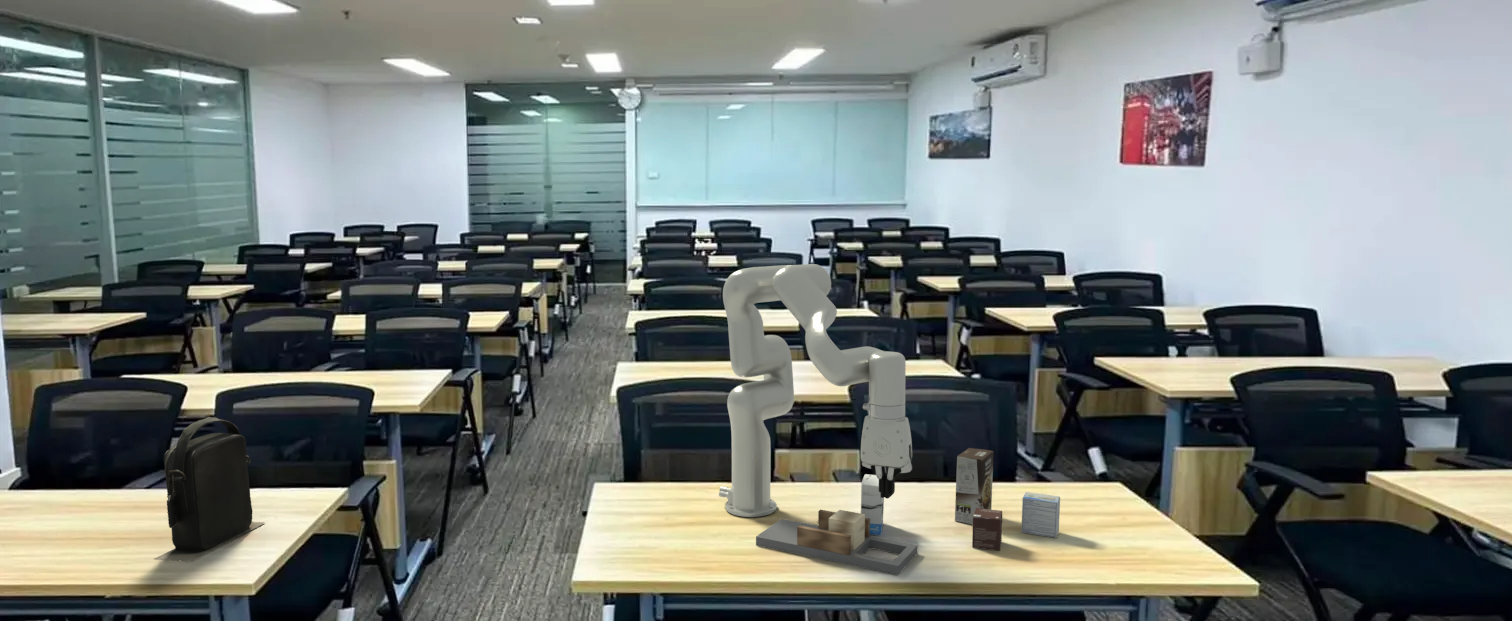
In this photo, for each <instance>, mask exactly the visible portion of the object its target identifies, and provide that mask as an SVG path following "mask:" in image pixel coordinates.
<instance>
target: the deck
mask: <svg viewBox="0 0 1512 621" xmlns="http://www.w3.org/2000/svg"><path fill="white" fill-rule="evenodd" d="M799 525H800V526H805V527H811V528H816V529H821V528H818V524H817V525H816V524H812V523H806V522H801V521H796V520H790V519H787V518H786V519H785V518H780V519H779V520H778V521H776V522H775V523H773V524H772V525H770V526H769V527H768V528H766V529H765V530H763V531H761V533H759V534H758V535H757V536H755V546H758V547H762V548H763V547H764V548H766V549H767V548H768V549H773V550H777V551H781V552H786V553H791V554H796V555H801V556H805V557H810V558H814V559H818V560H824V561H829V562H833V563H837V564H843V565H847V566H853V567H858V568H862V569H865V570H866V569H867V570H871V571H876V572H882V573H886V574H891V575H896V576H899V575H900V574H901V573H902V571H903V570H904V569H905V568H906V567H907V566H908V565H909V564H910V563H911V561H913V559H914V558H915V557H916V556H917V554H918V547H919V545H918V544H916V543H910V542H904V541H899V540H894V539H890V538H889V539H888V538H885V537H878V536H875V535H870V536H869V537H868V538H867V537H865V541H864V542H863V543H861V544H860V545H859V546H858V547H857V548H856V549H855V550H851V554H849V555H845V554H840V553H835V552H830V551H825V550H820V549H816V548H811V547H806V546H801V545H797V527H798V526H799ZM821 530H826V529H821ZM826 531H829V530H826ZM870 549H872V550H878V551H884V552H887V553H892V554H897V556H896V557H895V559H894V560H892V559H887V558H882V557H879V556H872V555H867V554H865V553H866V552H867V551H869V550H870Z"/></svg>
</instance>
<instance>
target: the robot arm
mask: <svg viewBox="0 0 1512 621" xmlns="http://www.w3.org/2000/svg"><path fill="white" fill-rule="evenodd" d="M831 287H832V280H831V276H830V274H829V273H828V271H827V270H826V269H825V268H824V267H823V266H822V265H819V264H815V263H806V264H787V265H785V264H784V265H782V264H781V265H770V266H769V265H767V266H752V267H747V268H741V269H738V270H736V271H734V272H732V273H731V274H729V276H728V277H727V279H726V280H725V282H724V285H723V289H722V301H723V305H724V310H725V313H726V318H727V325H728V326H727V328H728V329H727V330H728V342H729V357H730V358H729V359H730V366H731V369H732V372H733V373H734V374H735V376H737V377H739V378H753V377H754V378H755V377H760V376H763V380H756V381H751V382H747V383H746V382H745V383H742V384H740V385H739V384H738V385H736V387H734V388H733V389H731V390H730V392H729V394H728V396H727V402H726V403H727V404H726V406H727V411H728V416H729V422H730V431H731V487H727V486H723V485H722V486H720V488H719V490H718V491H719V492H718V496H719V497H721V498H726V499H727V501H726V502H725V510H726V511H727V512H728V513H729V514H731V515H734V516H738V517H743V518H745V517H746V518H758V517H765V516H769V515H771V514H773V513H775V511H777V502H776V501H775V500H773V499H772V498H771V448H772V447H771V436H770V433H769V431H768V428H767V427H766V425H765V423H764V421H765V420H768V419H773V418H777V417H781V416H783V415H785V414H787V413H789V412H790V411H791V409H792V408H793V405H794V401H795V390H794V389H795V388H794V373H793V361H792V360H793V359H792V353H791V350H790V349H791V348H790V347H789V345H788V343H787V342H786V340H785V339H784V338H783V337H781V336H780V335H776V334H766V335H765V332H764V320H763V317H762V315H761V313H760V311H759V309H758V308H757V306H755V305H756V304H758V303H769V302H777V301H781V302H782V303H783V305H784V306H785V307H786V308H787V310H788V311H789V312H790V313H791V314H792V316H793V317H794V318H795V319H796V321H797V322H798V324H800V326H801V327H802V328H803V329H804V331H805V336H804V340H805V347H806V351H807V355H808V357H809V359H810V361H811V363H812V364H813V365H814V367H815V368H816V369H817V370H818V372H819V373H820V374H821V375H822V376H823V377H824V378H825V380H826V381H828V382H829V383H830V384H832V385H834V386H836V387H847V386H848V387H849V386H852V385H856V384H862V383H868V402H867V403H863V405H862V409H863V410H865V411H867V415H866V416H864V419H863V424H862V425H863V426H862V431H861V433H862V434H861V440H860V441H861V442H860V460H861V465H862V467H865V468H867V469H870V470H871V471H872V472H873V473H874V475H876V476H877V478H878V479H879V492H881V498H884V499H889V498H891V497H893V495H894V494H895V491H896V489H895V488H896V487H895V486H896V485H895V484H896V482H895V480H896V477H898V475H899V474H906V473H910V472H912V470H913V465H912V460H913V443H912V441H913V440H912V432H911V426H910V422H909V417H907V416H906V368H907V367H906V366H907V365H906V358H905V356H904V355H903V354H902V353H901V352H897V351H886V350H881V349H879V348H876V347H872V346H860V347H859V346H858V347H854V348H848V349H842V350H841V349H840V348H839V347H838V346H837V345H836V344H835V343H834V341H832V339H831V338H830V336H829V335H828V333H827V329H828V328H829V327H831V325H832V324H833V322H835V320H836V317H837V312H838V311H837V307H836V306H835V305H834V303H833V301H831V300H830V299H829V297H828V295H829V293H830V291H831ZM887 468H888V469H887Z"/></svg>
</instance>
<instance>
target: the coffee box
mask: <svg viewBox="0 0 1512 621" xmlns="http://www.w3.org/2000/svg"><path fill="white" fill-rule="evenodd" d="M994 453H995V452H994V451H993V450H988V449H981V448H972V447H968V448H967V449H966V450H964V451H963V452H961V453H960V454H958V455H957V457H956V474H955V475H956V479H955V480H956V481H955V504H954V505H955V507H954V521H955V522H959V523H964V524H968V525H969V524H970V525H973V515H974V512H975V509H976V508H981V509H990V510H992V502H993V499H992V498H993V475H994V474H993V472H994Z"/></svg>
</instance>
